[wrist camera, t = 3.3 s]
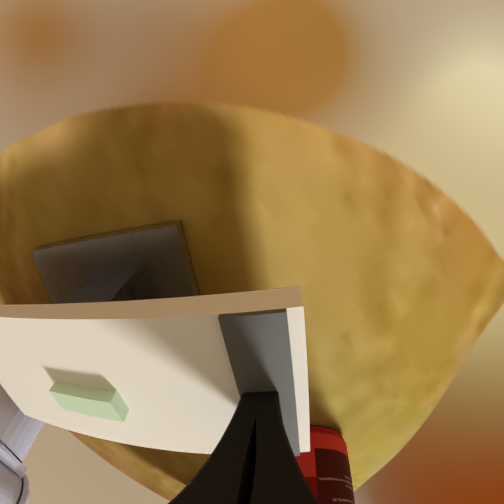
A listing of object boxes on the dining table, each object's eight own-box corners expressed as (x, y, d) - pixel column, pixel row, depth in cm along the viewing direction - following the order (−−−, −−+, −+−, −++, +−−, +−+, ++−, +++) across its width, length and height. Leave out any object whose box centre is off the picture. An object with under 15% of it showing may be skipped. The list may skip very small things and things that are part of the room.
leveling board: (34, 399, 16) (19, 421, 14) (-26, 300, 12) (-49, 320, 10) (308, 424, 14) (311, 464, 11) (298, 277, 10) (305, 322, 8)
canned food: (246, 459, 22) (235, 562, 12) (269, 417, 19) (262, 555, 9) (322, 466, 23) (328, 561, 13) (361, 425, 20) (381, 545, 9)
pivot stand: (106, 387, 19) (88, 422, 16) (38, 246, 15) (-1, 273, 11) (229, 393, 18) (222, 439, 15) (180, 220, 14) (152, 252, 10)
